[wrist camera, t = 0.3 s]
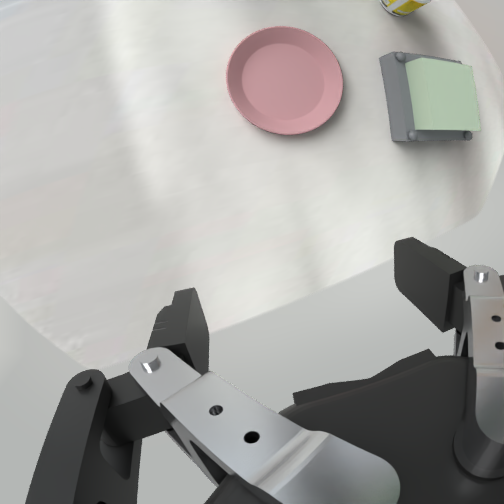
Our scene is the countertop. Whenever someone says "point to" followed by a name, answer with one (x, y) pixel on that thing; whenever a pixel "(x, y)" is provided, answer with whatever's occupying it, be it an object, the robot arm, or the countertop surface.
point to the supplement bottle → (402, 6)
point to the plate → (284, 80)
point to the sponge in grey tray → (429, 98)
